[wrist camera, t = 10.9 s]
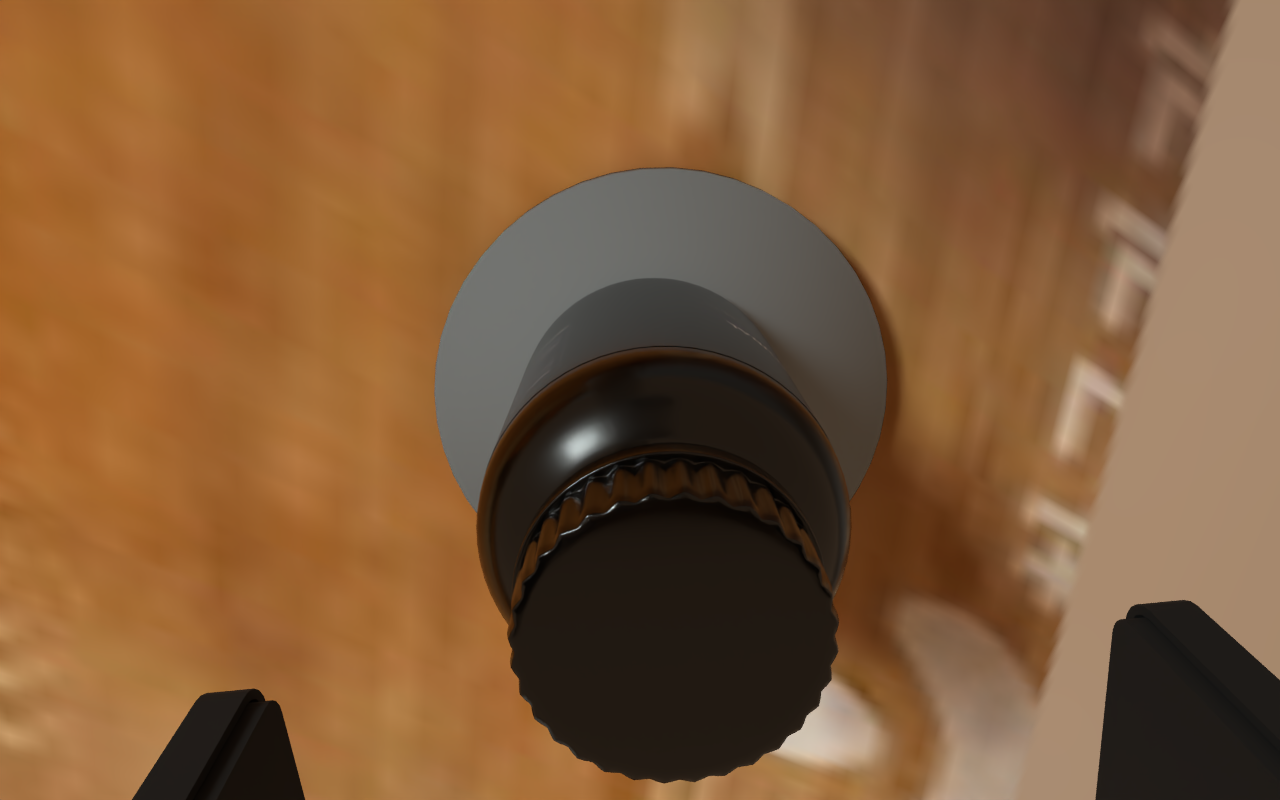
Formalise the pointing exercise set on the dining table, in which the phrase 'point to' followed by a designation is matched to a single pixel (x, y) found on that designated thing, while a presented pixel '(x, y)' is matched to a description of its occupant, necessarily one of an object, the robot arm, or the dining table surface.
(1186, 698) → the robot arm
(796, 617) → the supplement bottle
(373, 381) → the dining table surface
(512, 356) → the coaster
